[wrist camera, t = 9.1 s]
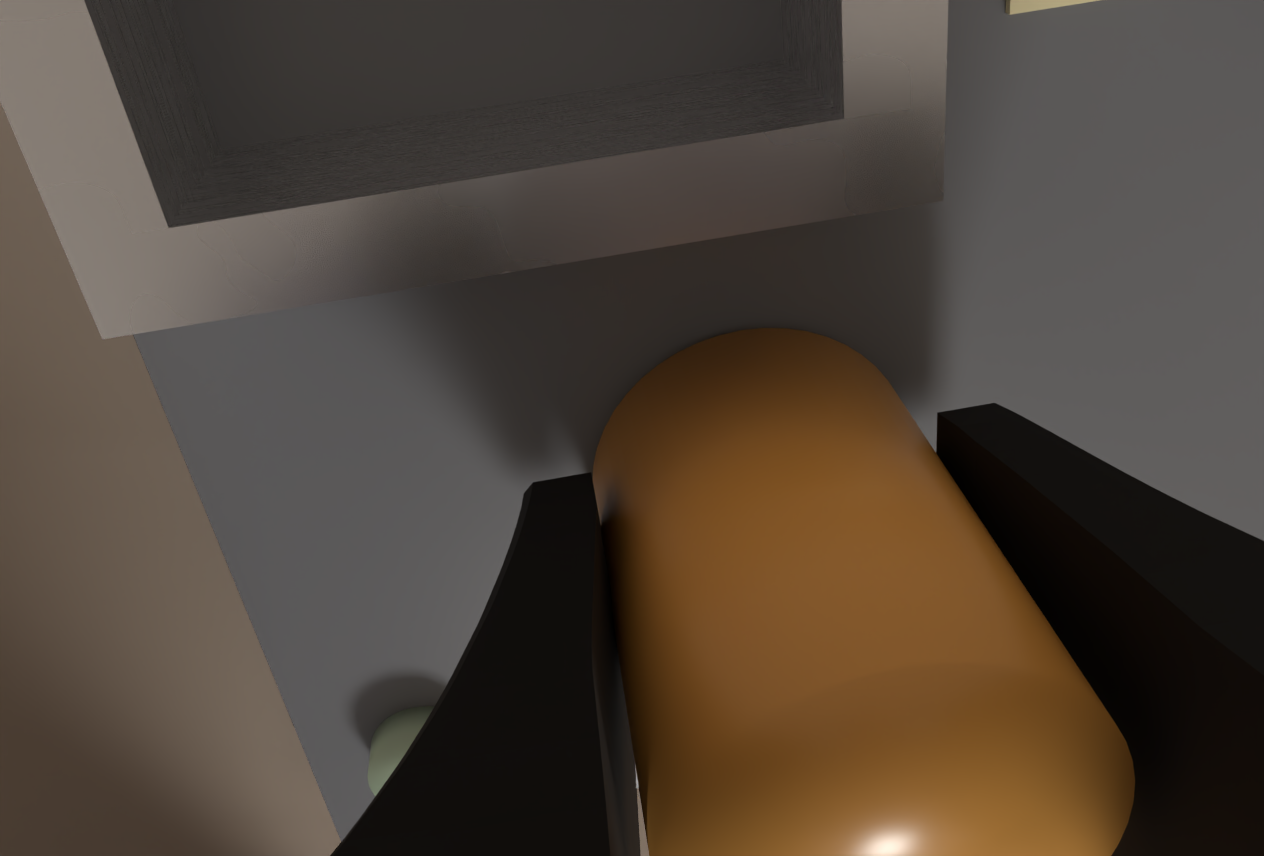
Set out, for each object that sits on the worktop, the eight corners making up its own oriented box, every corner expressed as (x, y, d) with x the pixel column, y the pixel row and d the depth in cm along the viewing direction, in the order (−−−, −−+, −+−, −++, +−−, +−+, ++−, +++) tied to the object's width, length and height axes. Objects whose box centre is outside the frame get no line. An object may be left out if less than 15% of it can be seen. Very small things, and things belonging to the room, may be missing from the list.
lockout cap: (907, 569, 13) (1108, 945, 9) (615, 621, 13) (678, 1027, 9) (910, 302, 11) (1165, 620, 7) (568, 359, 11) (624, 717, 7)
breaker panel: (1552, 566, 16) (1642, 634, 15) (348, 783, 16) (336, 873, 14) (2255, -1153, 8) (2593, -1327, 7) (-279, -832, 7) (-441, -959, 6)
